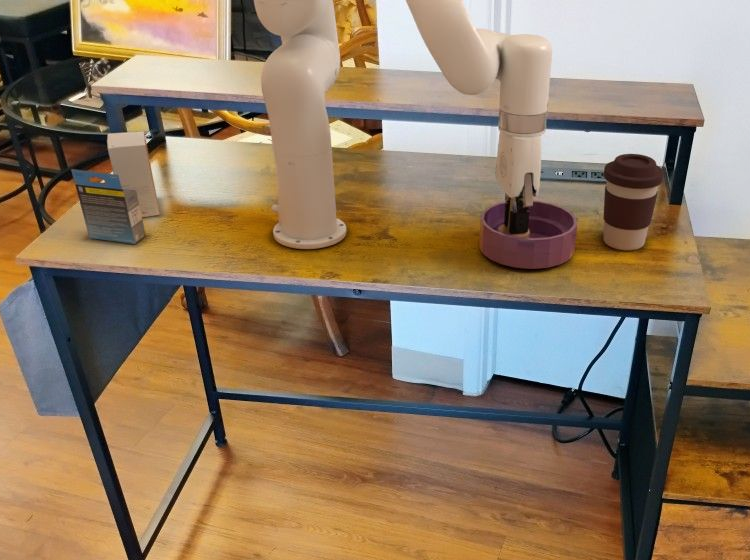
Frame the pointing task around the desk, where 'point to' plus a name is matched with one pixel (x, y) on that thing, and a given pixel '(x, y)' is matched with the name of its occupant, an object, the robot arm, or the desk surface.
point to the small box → (134, 168)
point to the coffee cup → (629, 200)
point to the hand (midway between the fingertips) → (515, 228)
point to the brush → (505, 229)
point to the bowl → (530, 237)
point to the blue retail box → (109, 208)
